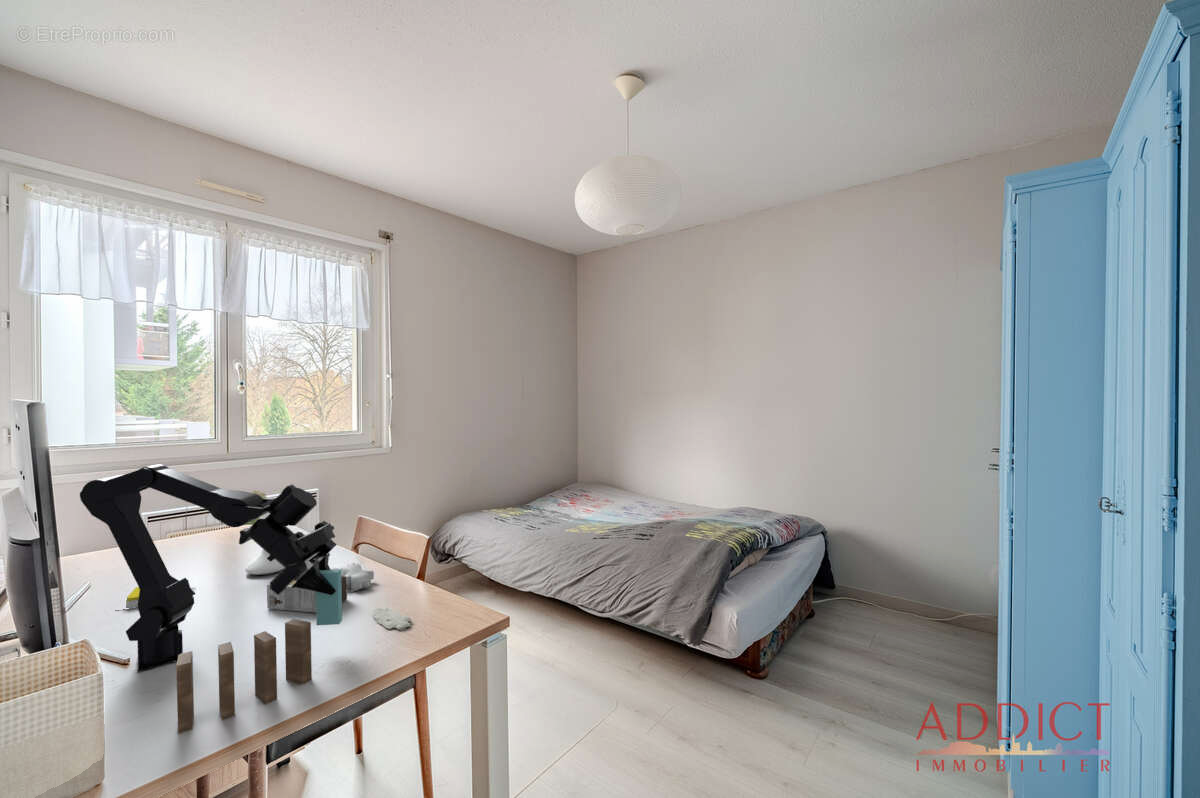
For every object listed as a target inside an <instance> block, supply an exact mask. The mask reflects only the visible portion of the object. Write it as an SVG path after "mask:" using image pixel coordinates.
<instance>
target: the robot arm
mask: <svg viewBox="0 0 1200 798" xmlns="http://www.w3.org/2000/svg"><path fill="white" fill-rule="evenodd" d="M148 489H153V490H156V491H158V492H160V493H163V494H166V495H168V496H171V497H174V498H176V499H179V500H181V501H184V502H186V503H190V504H192V505H195V506H197V507H199V508H201V509H204V510H206V511H208V512H209V514H210V515H211V516H212V518H214V519H216V520H217V521H219V522H221V523H223V524H224V525H225V526H227V527H230V528H239V527H241V526H246V525H245V524H247V523H249V522H251V521H253V520H256V519H258V518H259V519H258V520H257V521H256V522H255V523H254V524H252V525H251V526H250V527H246V528H243V529H241V530H240V531H239V539H238V540H239V541H238V544H239V545H243V544H245V543H248V542H249V541H251V540H252V541H254V542H255V543H256V544H257V545H258V546H259V547H260V548H261V549H262V550H263V549H264V550H265V551H266V552H267V553H268V554H269V555H270V556H269V557H268V558H267V559H268V560H269V561H270V562H271V561H273V560H274V559H275V560H276V561H277V562H279V563H280V564H281V565H282V566H283V567H284V569H282V570H280V571H279V573H278V574H277V575H276V576H275V577H274V578H273V579H272V580H271V581H270V582H269V584H270V590H271V591H273V592H274V593H275V594H276V595H277V596H278V595H279V594H280V593H281V592H283V591H284V590H285V589H286V587H287V586H288V585H289V584H290V583H291V582H292V581H293V580H295V581H296V583H295V584H294V585H293V586H292V588H295V587H296V588H301V589H307V590H312V591H316V592H320V593H325V594H329V595H333V594H334V593H335V592H336V590H335V589H334V588H333V586H332V585H331V584H330V583H329V582H328V581H327V580H326V578H325V577H324V576H323V575H322V574H321V573H320V571H319V570H330V568H331V567H330V566H329V560H330V559H329V558H330V556H331V553H330V552H332V550H333V549H334V548H335V547H336V546H337V545H338V544H337V543H336V542H334V540H333V539H334V538H336V535H335V533H334V529H335V526H334V525H332V524H331V523H329V522H327V521H325V520H322V521H320V522H318V523H317V524H315V525H314V530H313V531H310V532H309V533H306V534H304V533H303V532H301V531H297V532H293V531H292V530H291V529H290V528H289V527H288V526H290V527H293V526H296V525H297V524H299V523H300V522H301V521H302V520H303V519H304V518H305V517H306V516H307V515H308V514H309V513H310V512H311V511H312V510H313V509H315V507H316V506H317V503H318V502H317V499H316V498H315V496H314V495H313V494H311V493H310V492H309V491H306V490H304V489H302V488H301V487H300V488H299V487H296V486H295V485H294V484H289V485H287V486H285V488H284V489H283V490H282V491H281V493H280V494H279V495H278V496H277V497H276V498H275V499H273V498H271V499H270V498H267V499H263V498H262V497H261V496H259V495H257V494H254V493H252V492H251V493H249V492H250V491H243V490H235V489H226V488H222V487H218V486H216V485H213V484H211V483H208V482H205V481H204V480H203V481H202V480H200V479H198V478H195V477H193V476H189V475H187V474H184V473H181V472H179V471H177V470H174V469H171V468H169V467H168V466H167V465H164V464H159V463H158V464H153V465H149V466H143V467H140V468H139V469H137V470H134V471H131V472H129V473H125V474H118V475H113V476H107V477H104V478H103V477H102V478H99V479H95V480H93V479H92V480H90V481H88V482H87V483H85V485H84V486H83V487H82V489H81V490H80V492H79V498H80V501H81V503H82V505H83V506H84V507H85V508H86V509H87V511H88V512H89V514H90V515H91V516H93V517H94V518H96V519H97V520H99V521H101V522H102V523H104V524H106V525H107V527H108V528H109V531H110V532H111V534H112V537H113V538H114V541H115V542H116V544H117V546H118V548H119V550H120V552H121V555H122V556H123V558H124V560H125V562H126V564H127V567H128V569H129V571H130V572H131V575H132V577H133V578H134V580H135V582H136V584H137V587H139V589H140V592H139V598H138V605H137V607H138V608H137V610H138V613H139V618H138V619H137V620H136V621H134V623H133V624H132V625H130V627H128V628H127V630H125V634H126V636H127V638H128V641H130V642H137V660H136V661H137V662H136V672H137V673H138V672H143V671H147V670H149V669H153V668H156V667H157V668H158V667H161V666H164V665H168V664H172V663H175V662H176V663H177V660H178V655H179V654H183V653H184V652H183V651H184V650H183V648H184V647H183V630H182V629H179V624H180V623H181V622H184V621H185V620H186V618H187V615H188V613H189V612H190V611H192V608H193V607H194V605H195V598H194V596H195V595H196V592H195V591H194V592H193V591H192V589H191V588H192V587H191V586H190V583H189V582H188V581H189V579H187V578H186V577H184V578H181V579H180V580H178V579H177V578H175V577H173V576H172V575H171V574H170V572H169V571H168V569H167V567H166V564H165V562H164V560H163V558H162V557H161V554H160V552H159V550H158V549H157V547H156V545H155V542H154V540H153V537H152V536H151V534H150V532H149V530H148V528H147V526H146V524H145V522H144V520H143V518H142V516H141V514H140V511H141V510H140V509H141V505H142V504H141V503H142V494H141V492H142V491H145V490H148ZM268 513H269V514H268ZM266 514H268V515H267V516H266V517H265V518H260V517H262V516H264V515H266Z"/></svg>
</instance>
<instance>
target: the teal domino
mask: <svg viewBox="0 0 1200 798" xmlns="http://www.w3.org/2000/svg"><path fill="white" fill-rule="evenodd" d="M319 571H320V573H321V574H322V575H323V576H324V577H325V578H326V580H327V581H328V582H329V583H330V584H331V585H332V586H333V588H334V589H335V590H336V592H335V593H334V594H333V595H329V594H325V593H320V592H316V614H315V615H316V626H329V625H340V623H341V622H342V621H343V602H342V584H341V569H340V568H338V569H334V570H319Z"/></svg>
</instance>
